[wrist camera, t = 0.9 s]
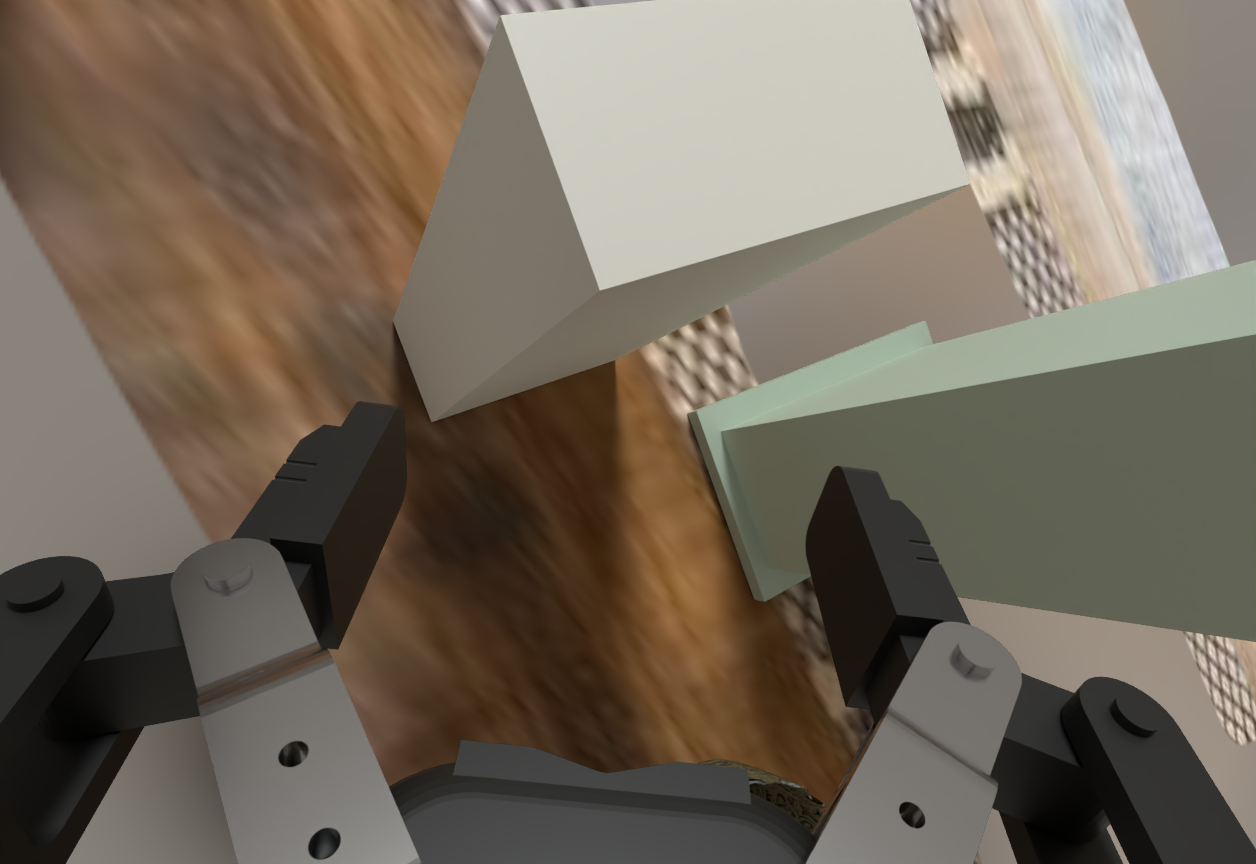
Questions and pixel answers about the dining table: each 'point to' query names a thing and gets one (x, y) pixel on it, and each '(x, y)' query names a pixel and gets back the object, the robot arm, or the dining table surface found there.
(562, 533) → the dining table surface
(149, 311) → the dining table surface
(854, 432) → the stand
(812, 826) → the cup
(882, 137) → the post
